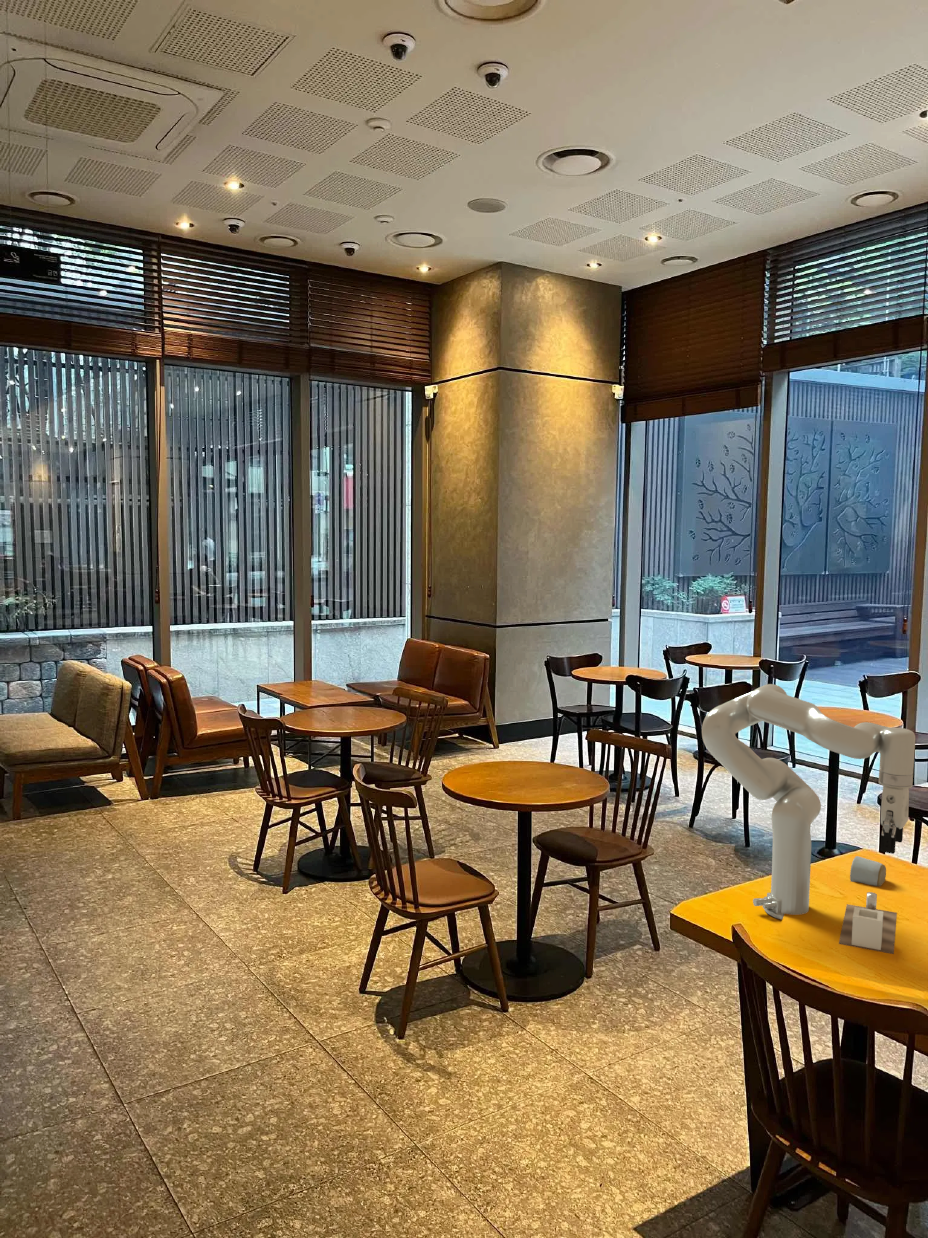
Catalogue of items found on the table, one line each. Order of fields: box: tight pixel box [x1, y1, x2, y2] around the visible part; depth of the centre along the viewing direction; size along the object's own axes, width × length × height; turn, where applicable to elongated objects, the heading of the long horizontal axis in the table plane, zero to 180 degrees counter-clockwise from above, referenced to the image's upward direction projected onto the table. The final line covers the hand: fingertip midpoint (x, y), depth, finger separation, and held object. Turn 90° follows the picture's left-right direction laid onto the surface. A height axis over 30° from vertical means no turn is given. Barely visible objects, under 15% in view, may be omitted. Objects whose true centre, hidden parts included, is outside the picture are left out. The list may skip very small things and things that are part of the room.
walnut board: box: [838, 904, 898, 955], centre depth 233 cm, size 26×12×2 cm, turn 154°
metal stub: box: [865, 891, 878, 910], centre depth 241 cm, size 2×2×5 cm
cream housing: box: [852, 907, 883, 950], centre depth 224 cm, size 6×6×7 cm
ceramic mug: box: [849, 855, 887, 887], centre depth 265 cm, size 11×8×8 cm
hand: (891, 846), depth 229 cm, fingers open, 9 cm apart
